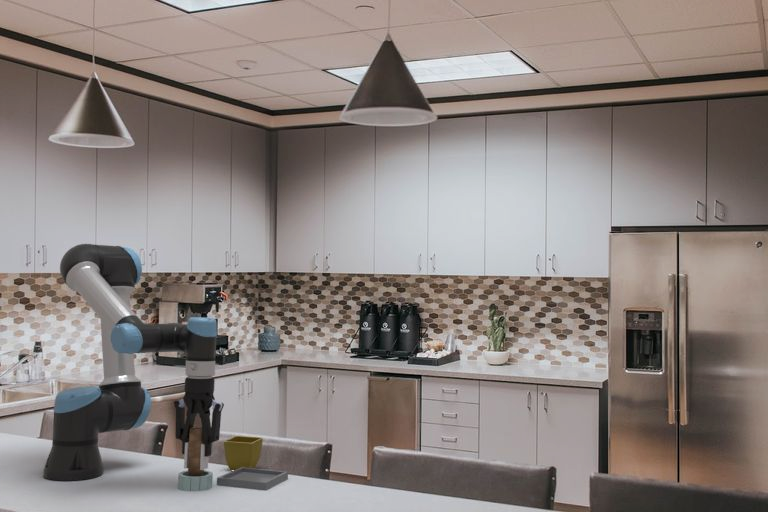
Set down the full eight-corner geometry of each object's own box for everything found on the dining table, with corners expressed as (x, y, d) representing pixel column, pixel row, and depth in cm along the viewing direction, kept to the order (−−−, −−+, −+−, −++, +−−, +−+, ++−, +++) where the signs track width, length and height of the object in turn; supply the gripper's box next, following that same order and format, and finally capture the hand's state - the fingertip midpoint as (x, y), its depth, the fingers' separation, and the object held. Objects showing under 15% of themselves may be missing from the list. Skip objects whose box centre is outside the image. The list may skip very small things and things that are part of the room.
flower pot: (251, 475, 217) (252, 442, 217) (222, 472, 218) (223, 440, 219) (262, 468, 225) (263, 437, 226) (234, 466, 227) (235, 435, 227)
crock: (171, 491, 196) (172, 475, 196) (189, 484, 204) (189, 468, 204) (201, 494, 193) (201, 478, 194) (217, 487, 201) (218, 471, 202)
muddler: (184, 487, 197) (186, 428, 198) (192, 484, 201) (194, 426, 202) (198, 489, 196) (200, 429, 197) (206, 486, 200) (208, 427, 201)
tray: (216, 487, 201) (217, 477, 201) (241, 476, 215) (241, 467, 215) (265, 492, 197) (265, 482, 197) (287, 481, 211) (288, 471, 211)
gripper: (163, 376, 199) (158, 468, 198) (222, 380, 194) (218, 474, 193) (178, 373, 206) (174, 462, 205) (236, 377, 201) (232, 468, 200)
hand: (195, 467), depth 199 cm, fingers closed on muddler, 4 cm apart
